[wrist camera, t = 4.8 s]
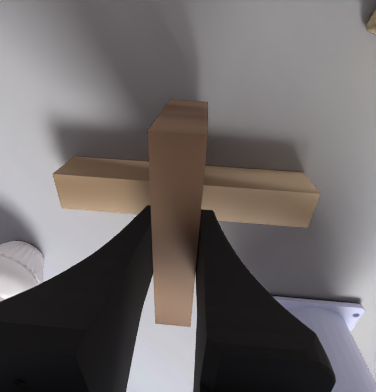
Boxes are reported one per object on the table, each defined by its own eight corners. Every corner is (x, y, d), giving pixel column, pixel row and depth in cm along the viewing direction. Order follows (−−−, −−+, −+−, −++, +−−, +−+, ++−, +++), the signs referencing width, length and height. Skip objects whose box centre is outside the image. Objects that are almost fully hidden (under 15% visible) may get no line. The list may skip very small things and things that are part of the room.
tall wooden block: (194, 255, 17) (190, 326, 12) (168, 253, 17) (155, 323, 13) (207, 101, 11) (207, 134, 7) (169, 99, 12) (147, 131, 7)
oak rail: (294, 203, 16) (307, 227, 14) (81, 187, 16) (61, 208, 14) (304, 172, 15) (321, 193, 12) (74, 156, 15) (52, 173, 13)
